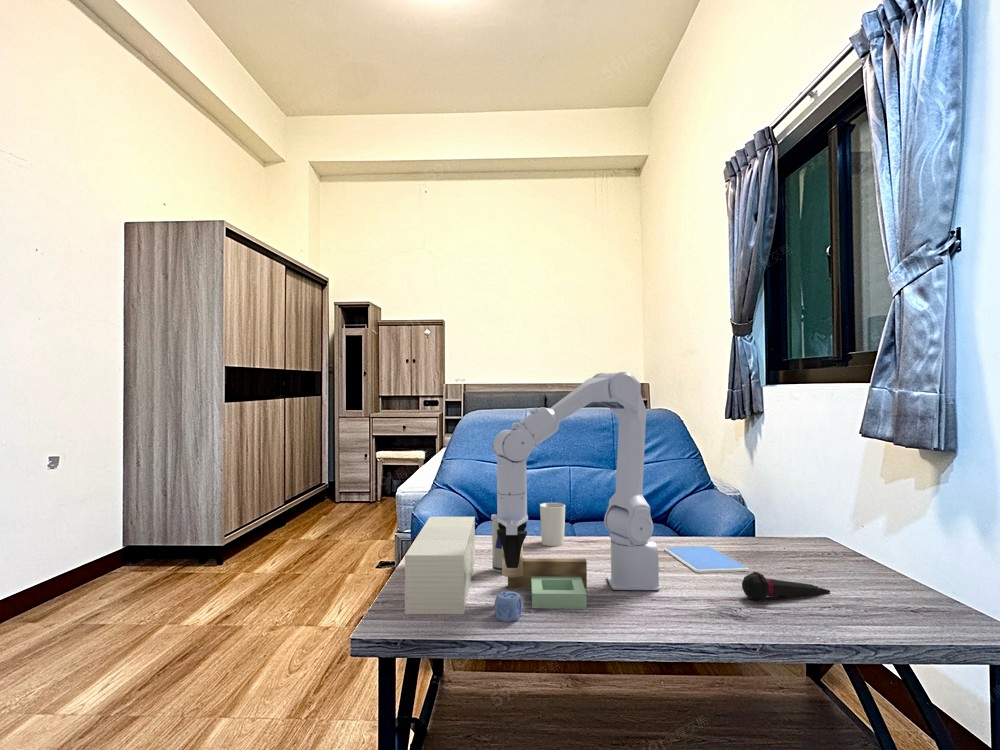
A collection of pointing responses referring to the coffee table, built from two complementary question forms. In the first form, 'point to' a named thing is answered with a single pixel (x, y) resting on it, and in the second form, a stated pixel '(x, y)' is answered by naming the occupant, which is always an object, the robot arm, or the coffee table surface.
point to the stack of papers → (440, 566)
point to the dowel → (512, 571)
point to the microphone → (776, 588)
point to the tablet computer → (705, 559)
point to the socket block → (558, 592)
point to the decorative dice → (508, 606)
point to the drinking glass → (552, 523)
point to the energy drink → (496, 548)
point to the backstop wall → (549, 571)
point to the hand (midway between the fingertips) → (512, 563)
